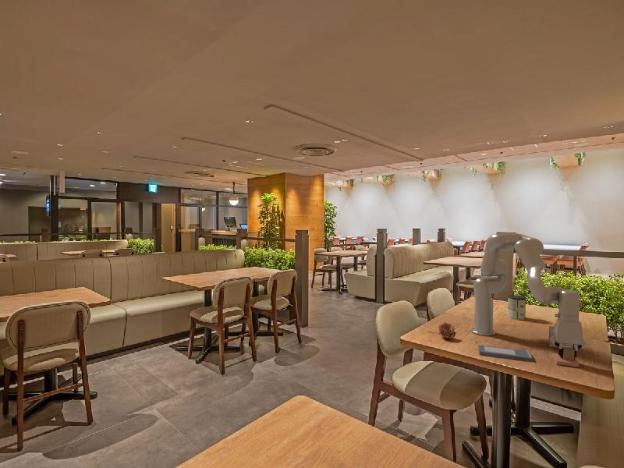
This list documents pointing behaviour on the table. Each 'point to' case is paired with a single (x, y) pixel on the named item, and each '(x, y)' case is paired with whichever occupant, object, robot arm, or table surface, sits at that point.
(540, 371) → the table surface
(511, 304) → the coffee can
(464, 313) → the table surface
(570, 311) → the robot arm
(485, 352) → the ticket board
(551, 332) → the printed box
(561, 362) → the stub
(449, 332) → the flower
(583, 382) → the table surface
